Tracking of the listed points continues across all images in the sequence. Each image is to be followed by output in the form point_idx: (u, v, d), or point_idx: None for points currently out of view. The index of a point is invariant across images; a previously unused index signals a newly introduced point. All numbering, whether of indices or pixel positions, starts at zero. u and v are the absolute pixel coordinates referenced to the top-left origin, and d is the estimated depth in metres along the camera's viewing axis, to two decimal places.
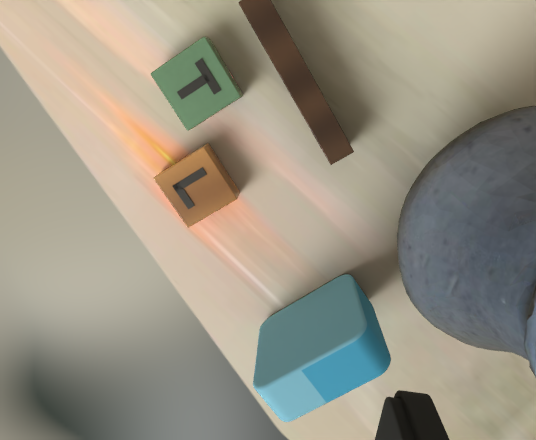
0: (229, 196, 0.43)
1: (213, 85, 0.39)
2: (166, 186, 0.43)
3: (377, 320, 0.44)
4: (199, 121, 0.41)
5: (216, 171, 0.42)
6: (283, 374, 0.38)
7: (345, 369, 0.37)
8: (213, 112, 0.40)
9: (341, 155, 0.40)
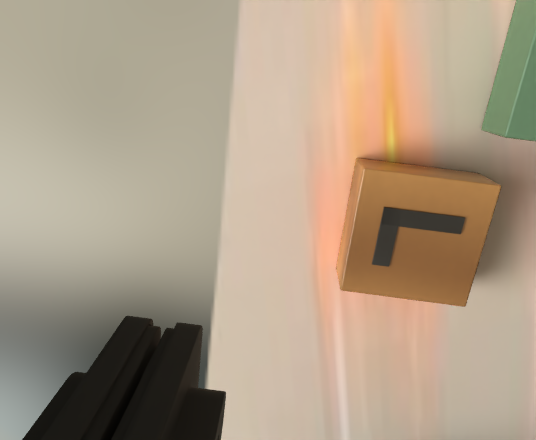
0: (457, 294, 0.20)
1: None
2: (372, 200, 0.19)
3: None
4: None
5: (480, 240, 0.20)
6: None
7: None
8: None
9: None
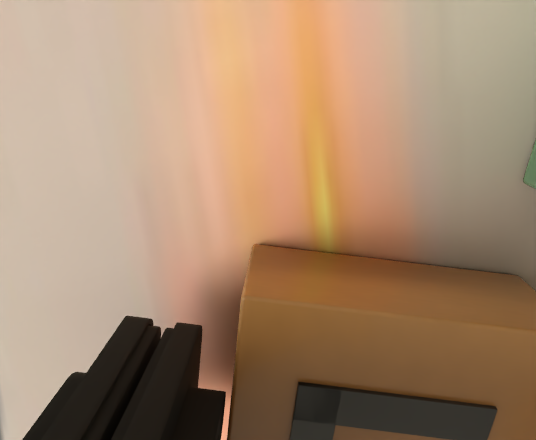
0: None
1: None
2: (270, 366, 0.08)
3: None
4: None
5: None
6: None
7: None
8: None
9: None
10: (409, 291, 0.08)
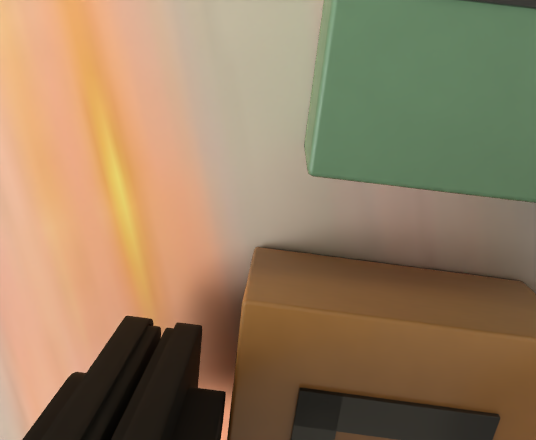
0: None
1: None
2: (270, 372, 0.08)
3: None
4: (405, 180, 0.07)
5: None
6: None
7: None
8: (510, 192, 0.07)
9: None
10: (412, 297, 0.08)
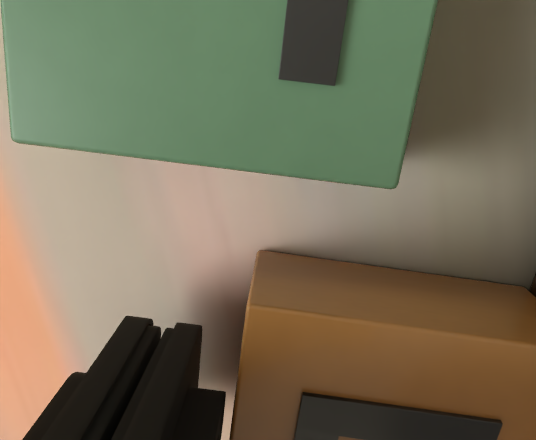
0: None
1: (313, 23, 0.06)
2: (274, 376, 0.08)
3: None
4: (104, 146, 0.07)
5: None
6: None
7: None
8: (207, 159, 0.07)
9: None
10: (415, 302, 0.08)
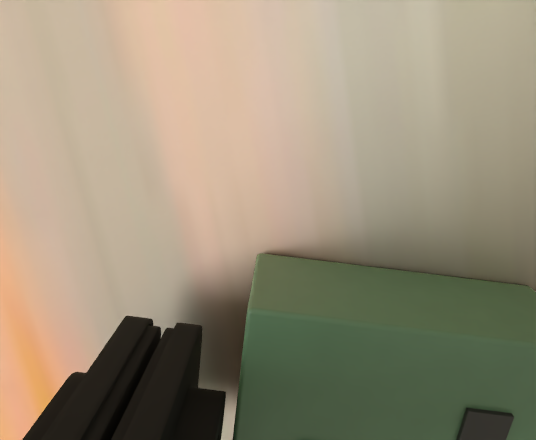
0: None
1: None
2: None
3: None
4: None
5: None
6: None
7: None
8: None
9: None
10: None
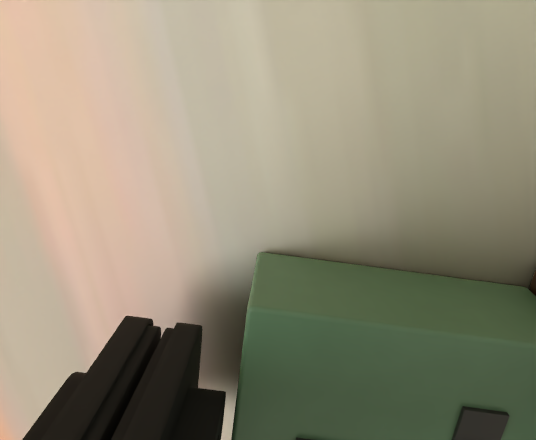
0: None
1: None
2: None
3: None
4: None
5: None
6: None
7: None
8: None
9: None
10: None
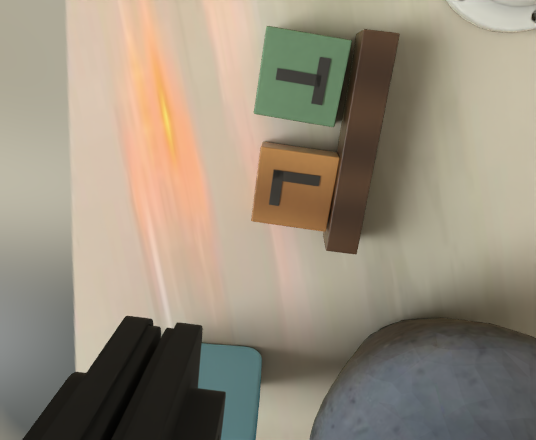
0: (320, 223, 0.34)
1: (318, 93, 0.31)
2: (266, 165, 0.33)
3: None
4: (273, 115, 0.32)
5: (330, 190, 0.33)
6: None
7: None
8: (295, 119, 0.32)
9: (342, 249, 0.34)
10: (301, 150, 0.33)
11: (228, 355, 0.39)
